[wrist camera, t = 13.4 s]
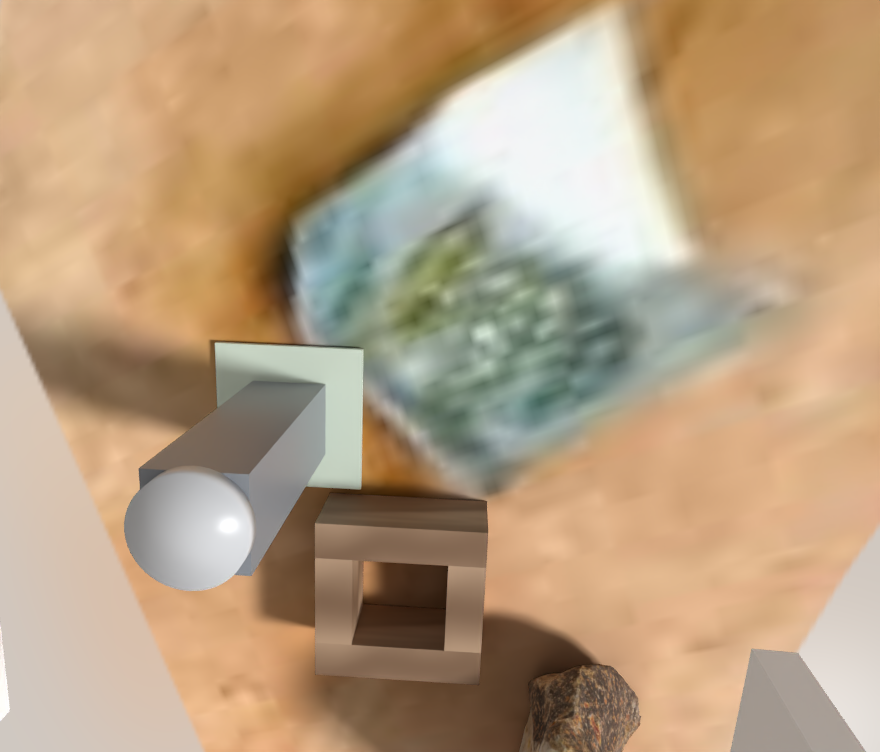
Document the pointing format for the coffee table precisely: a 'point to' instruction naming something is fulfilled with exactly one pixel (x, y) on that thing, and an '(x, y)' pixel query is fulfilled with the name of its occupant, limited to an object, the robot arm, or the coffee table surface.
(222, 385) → the mat
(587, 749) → the rock
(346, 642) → the brown square frame
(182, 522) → the plug
